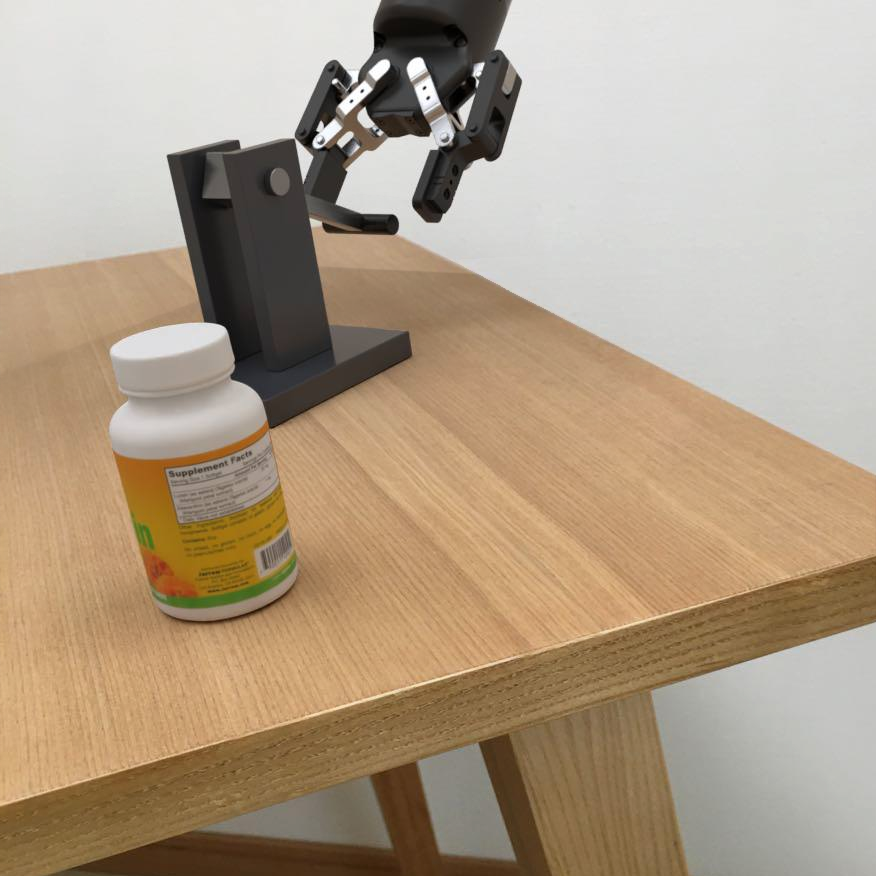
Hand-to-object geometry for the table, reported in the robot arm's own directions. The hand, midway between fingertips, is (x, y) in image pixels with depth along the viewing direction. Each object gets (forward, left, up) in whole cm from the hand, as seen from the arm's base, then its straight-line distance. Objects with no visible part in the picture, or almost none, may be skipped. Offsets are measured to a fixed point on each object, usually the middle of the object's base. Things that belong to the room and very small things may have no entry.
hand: (367, 214), depth 73 cm
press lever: (+1, -6, +1) cm, 6 cm away
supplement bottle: (+21, -27, -7) cm, 35 cm away
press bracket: (+2, -10, -7) cm, 12 cm away
